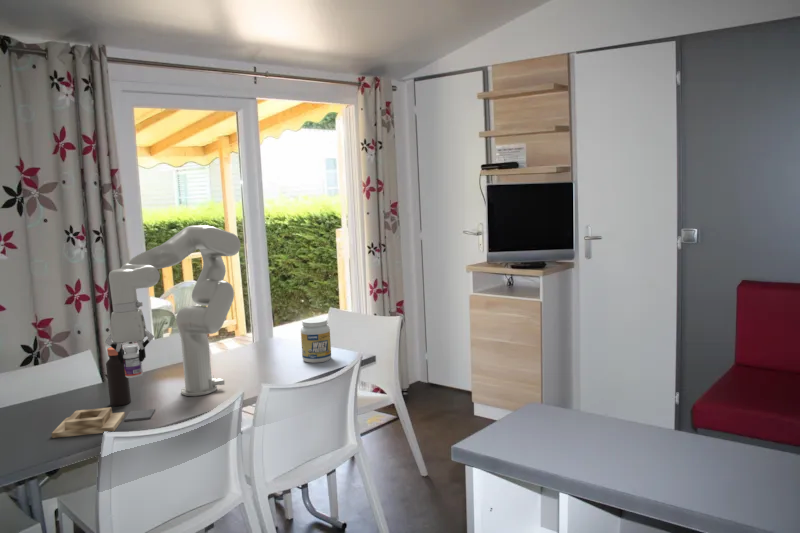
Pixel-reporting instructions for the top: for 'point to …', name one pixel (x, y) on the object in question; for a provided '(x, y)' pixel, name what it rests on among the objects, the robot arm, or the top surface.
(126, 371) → the pill bottle
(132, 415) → the mat
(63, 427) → the housing
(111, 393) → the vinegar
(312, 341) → the supplement tub
